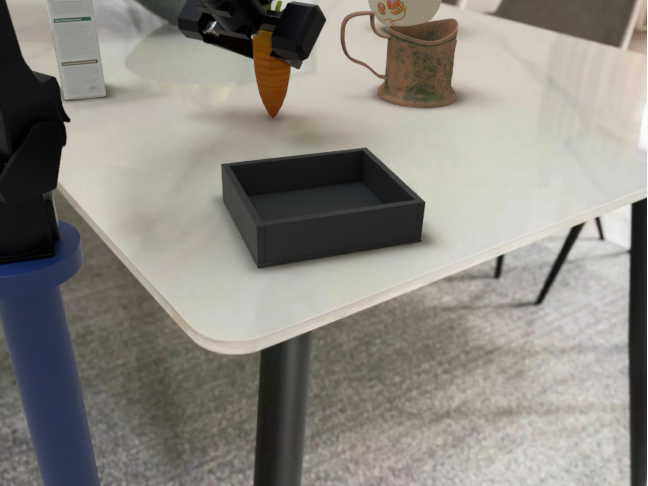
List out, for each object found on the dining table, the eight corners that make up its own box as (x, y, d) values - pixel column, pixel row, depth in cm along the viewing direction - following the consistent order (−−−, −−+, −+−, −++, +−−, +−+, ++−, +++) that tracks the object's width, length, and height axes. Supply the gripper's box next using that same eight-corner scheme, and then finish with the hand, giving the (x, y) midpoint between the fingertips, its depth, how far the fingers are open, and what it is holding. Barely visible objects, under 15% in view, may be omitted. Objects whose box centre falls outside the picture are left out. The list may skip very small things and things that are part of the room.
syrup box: (107, 97, 95) (92, -13, 88) (63, 101, 93) (44, -11, 86) (102, 85, 100) (88, -20, 93) (60, 88, 98) (42, -18, 90)
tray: (257, 268, 57) (256, 226, 55) (222, 200, 68) (220, 163, 66) (421, 241, 62) (425, 201, 60) (364, 182, 73) (366, 147, 71)
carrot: (276, 108, 93) (276, -7, 85) (299, 118, 90) (300, 0, 82) (246, 115, 90) (243, -3, 83) (268, 126, 87) (266, 4, 79)
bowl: (345, 29, 136) (347, -24, 131) (398, 19, 146) (402, -31, 141) (405, 45, 126) (410, -12, 121) (458, 33, 136) (464, -20, 131)
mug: (328, 87, 102) (331, 4, 96) (437, 81, 106) (446, 1, 100) (350, 112, 92) (354, 21, 86) (469, 105, 96) (481, 17, 90)
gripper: (319, -74, 71) (366, 18, 84) (186, -86, 79) (248, -1, 93) (274, 16, 69) (329, 96, 82) (143, -6, 78) (213, 69, 91)
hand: (278, 61), depth 87 cm, fingers open, 6 cm apart
